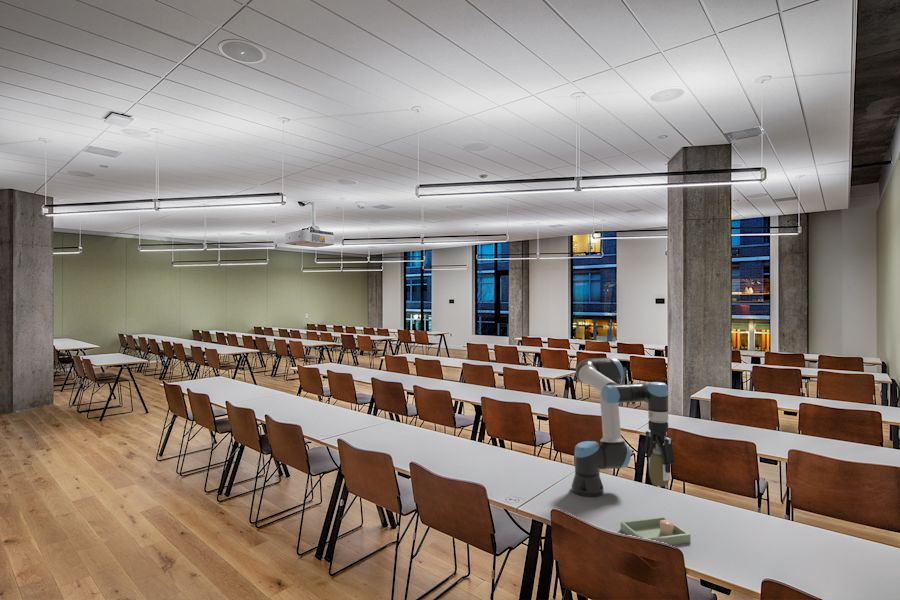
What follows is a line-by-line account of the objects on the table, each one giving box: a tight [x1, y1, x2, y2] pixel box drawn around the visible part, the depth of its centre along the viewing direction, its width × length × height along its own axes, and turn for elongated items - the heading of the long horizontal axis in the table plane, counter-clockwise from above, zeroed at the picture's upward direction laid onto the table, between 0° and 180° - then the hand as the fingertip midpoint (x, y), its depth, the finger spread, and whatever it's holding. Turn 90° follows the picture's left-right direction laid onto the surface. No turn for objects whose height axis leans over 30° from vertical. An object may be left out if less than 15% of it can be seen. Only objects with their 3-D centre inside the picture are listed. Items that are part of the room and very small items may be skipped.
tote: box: [619, 516, 691, 546], centre depth 195 cm, size 16×20×4 cm
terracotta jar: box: [660, 519, 674, 536], centre depth 196 cm, size 5×5×4 cm
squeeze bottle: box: [648, 444, 670, 487], centre depth 202 cm, size 8×8×18 cm
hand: (659, 476), depth 202 cm, fingers closed on squeeze bottle, 8 cm apart
